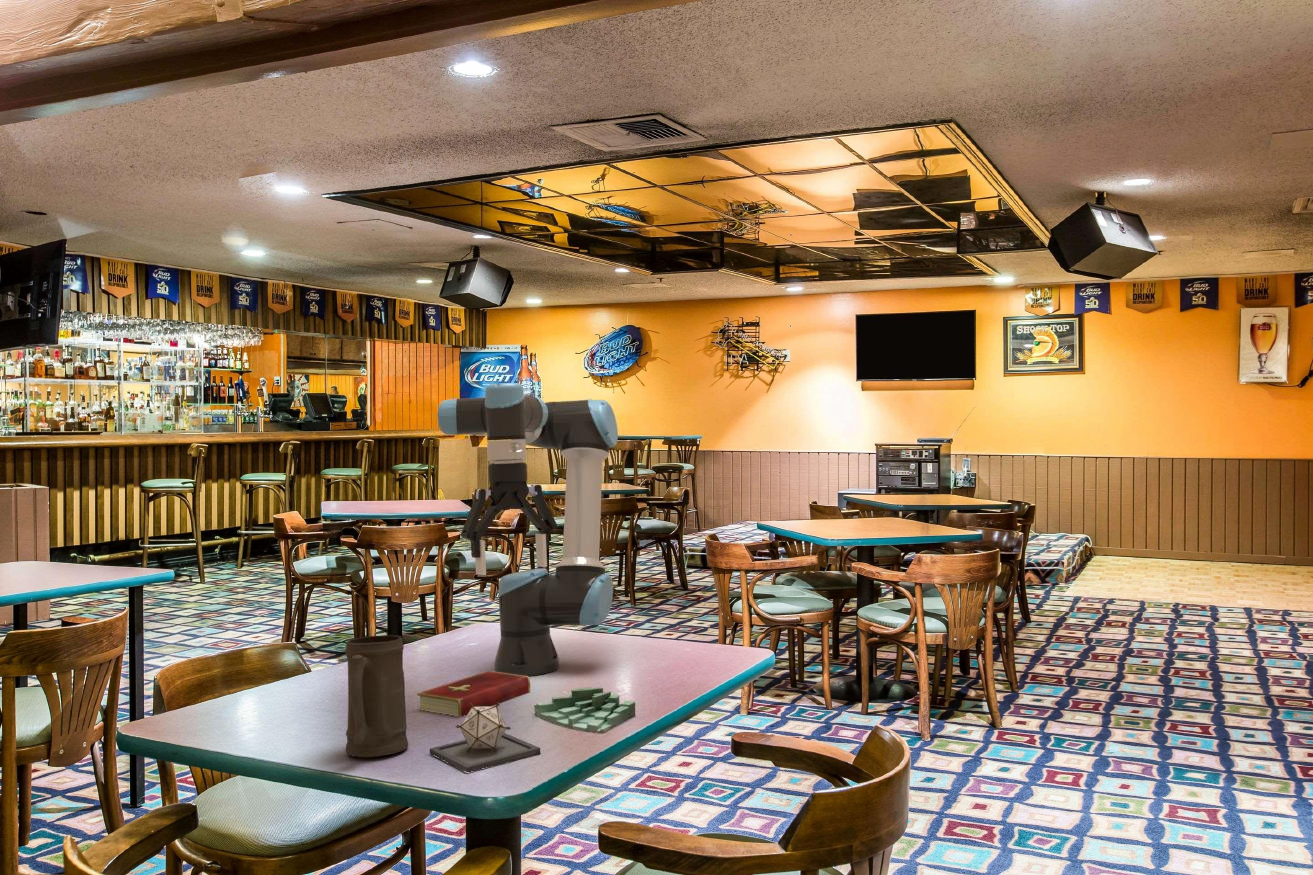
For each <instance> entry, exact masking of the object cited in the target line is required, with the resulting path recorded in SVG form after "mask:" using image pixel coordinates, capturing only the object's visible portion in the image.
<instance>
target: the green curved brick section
mask: <svg viewBox="0 0 1313 875" xmlns="http://www.w3.org/2000/svg"><path fill="white" fill-rule="evenodd" d="M570 693H571V694H570V695H564V696H553V697H551V702H539V703H535V704H533V708H534V715H536V716H537V717H539V718H541V719H543V720H545V721H546V722H550V723H551V724H552V723H553V724H555V725H557V726H560V727H564V728H567V727H568V728H569V729H572V730H575V729H576V731H582V732H588V733H596V732H597V733H596V734H604V733H607V732H608V731H610V730H611V729H612V728H614V726H615V727H617V726H619V725H621V724H623V723H624V722H627V721H628V720H629V719H631V718H635V717H636V701H631V700H625V701H623V702H621V703H620V695H618V694H612V691H611V690H609V691H606V692H605V691H604V687H601V686H600V687H583V688H581V687H580V688H576V689H571V692H570ZM611 694H612V695H611ZM609 729H610V730H609ZM606 731H607V732H606Z"/></svg>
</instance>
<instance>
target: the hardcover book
mask: <svg viewBox="0 0 1313 875" xmlns="http://www.w3.org/2000/svg"><path fill="white" fill-rule="evenodd" d="M526 693H527V694H529V693H531V681H530V676H523V675H516V674H509V673H501V672H495V670H494V671H493V670H487V671H483V672H481V673H477V674H474V675H472V676H468V677H465V678H461V679H458V680H455V681H452V682H449V683H446V684H443V685H439V686H435V687H433V688H430V689H427V690H424V691H420V692H417V694H416V695H417V696H419V704H420V706H419V707H420V710H421V709H423V710H427V711H432V712H431V713H433V712H437V713H436V714H439V713H442V714H441V715H445V714H450V715H449V716H451V715H454V716H453V717H457V716H458V717H457V718H459V717H460V718H462V717H461V716H463V717H465V716H467V714H468V713H469V711H470V709H471V708H472V707H470V703H472V704H473V706H496V704H497V703H498V702H499V704H502V703H504V702H507V701H510V700H512V699H515V698H518V697H521V696H523V695H526ZM427 711H426V712H427ZM464 715H465V716H464Z"/></svg>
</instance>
